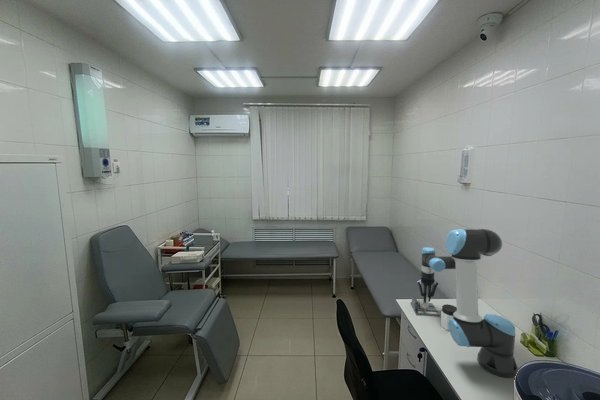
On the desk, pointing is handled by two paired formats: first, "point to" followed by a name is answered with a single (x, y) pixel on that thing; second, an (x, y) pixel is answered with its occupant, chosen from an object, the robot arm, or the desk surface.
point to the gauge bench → (428, 312)
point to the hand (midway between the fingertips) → (426, 305)
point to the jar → (447, 315)
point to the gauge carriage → (422, 304)
